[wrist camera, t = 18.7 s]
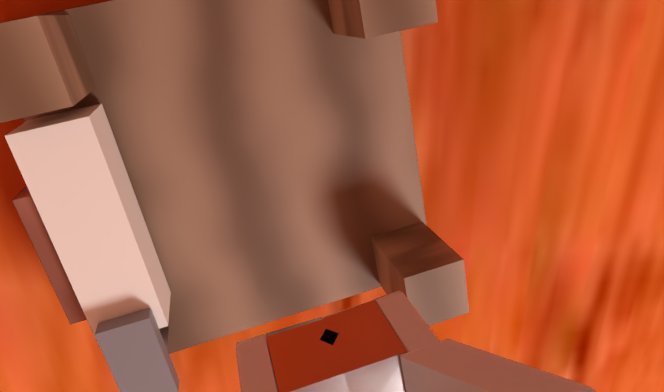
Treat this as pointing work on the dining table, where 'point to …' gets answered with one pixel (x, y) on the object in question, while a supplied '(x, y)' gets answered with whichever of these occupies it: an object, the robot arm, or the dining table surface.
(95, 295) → the hinged leg
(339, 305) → the dining table surface
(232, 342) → the dining table surface
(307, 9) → the stool board
